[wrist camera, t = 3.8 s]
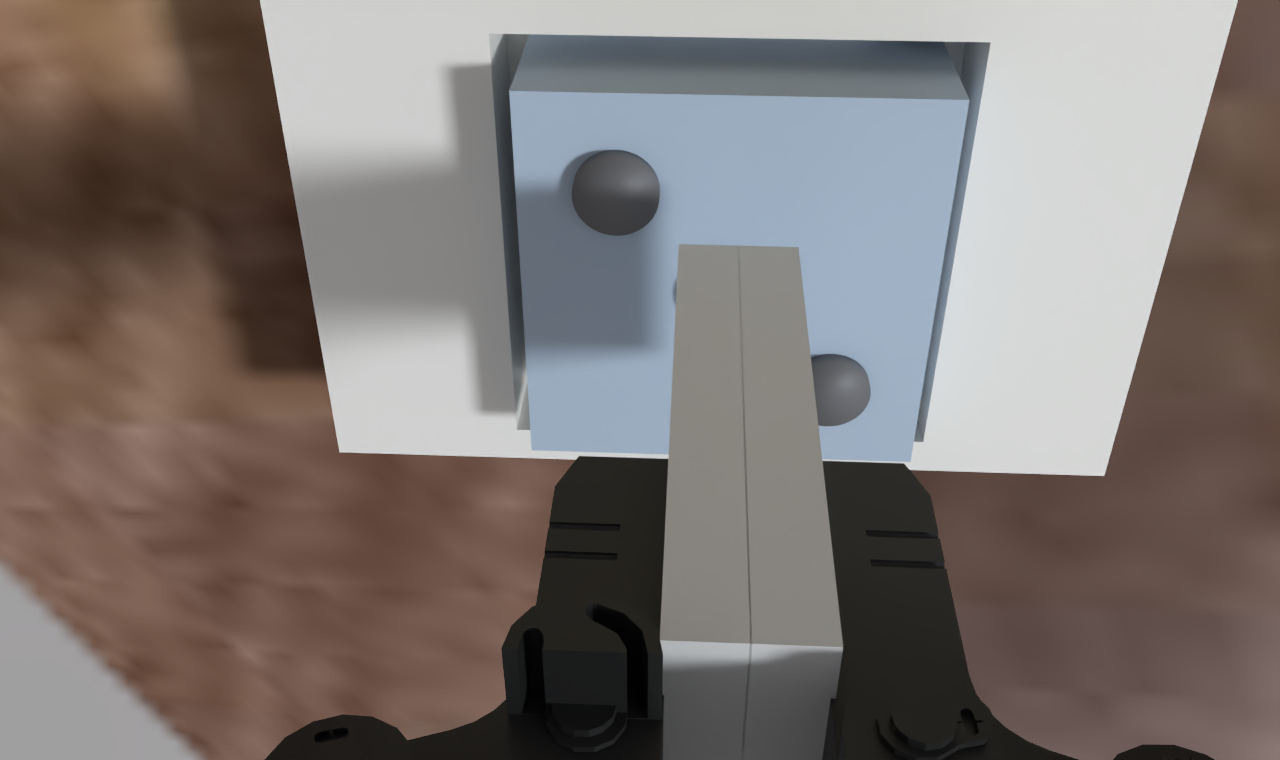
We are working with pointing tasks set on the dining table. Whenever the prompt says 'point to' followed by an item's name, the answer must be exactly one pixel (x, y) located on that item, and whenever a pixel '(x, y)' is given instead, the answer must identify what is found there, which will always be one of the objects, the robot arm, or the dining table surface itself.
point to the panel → (746, 8)
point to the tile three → (730, 218)
